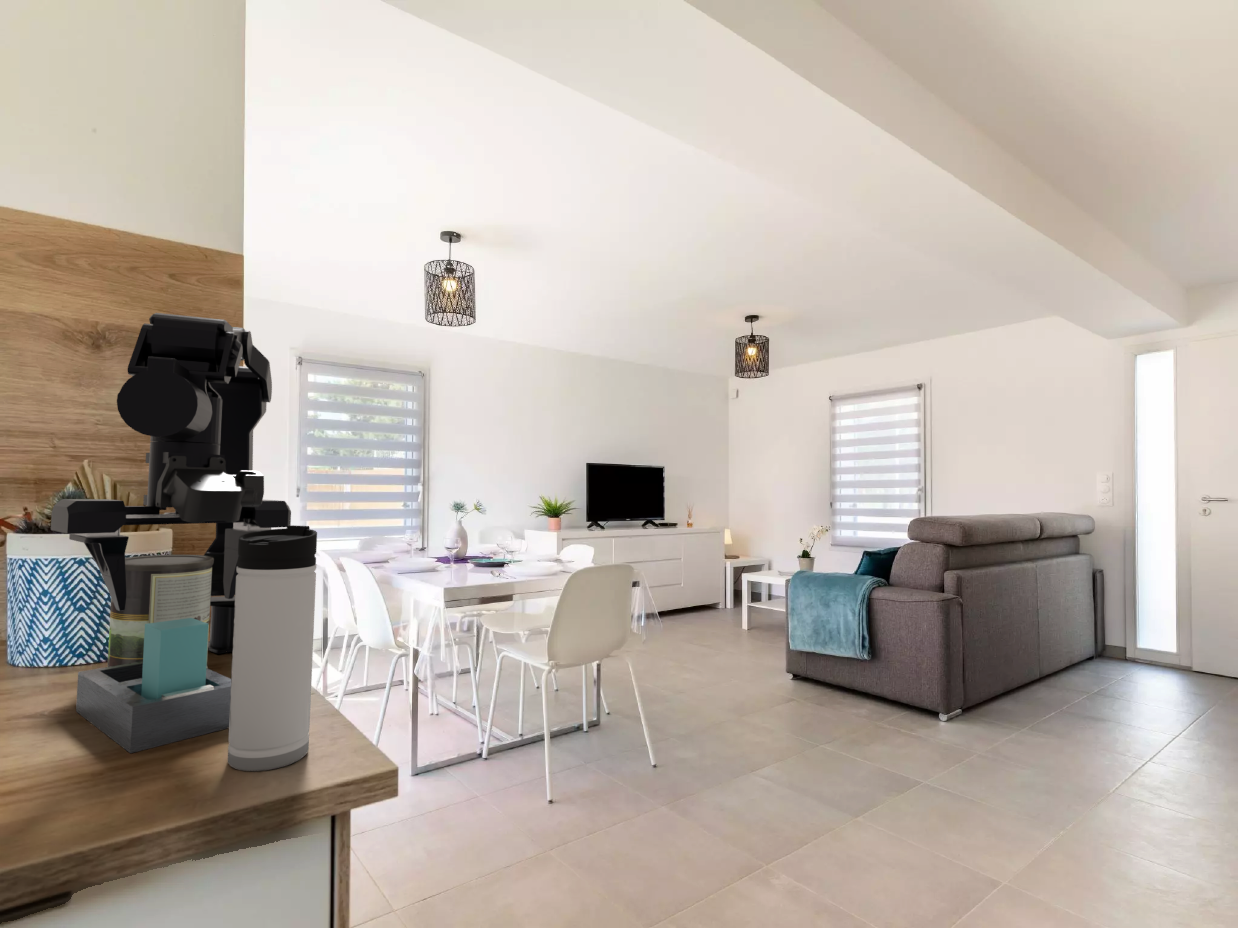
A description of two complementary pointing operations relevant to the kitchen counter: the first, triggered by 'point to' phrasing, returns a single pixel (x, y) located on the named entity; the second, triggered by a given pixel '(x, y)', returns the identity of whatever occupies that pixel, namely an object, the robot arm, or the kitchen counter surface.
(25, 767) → the kitchen counter surface
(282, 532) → the travel mug
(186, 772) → the kitchen counter surface
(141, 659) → the coffee can
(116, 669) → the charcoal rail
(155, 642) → the teal peg
